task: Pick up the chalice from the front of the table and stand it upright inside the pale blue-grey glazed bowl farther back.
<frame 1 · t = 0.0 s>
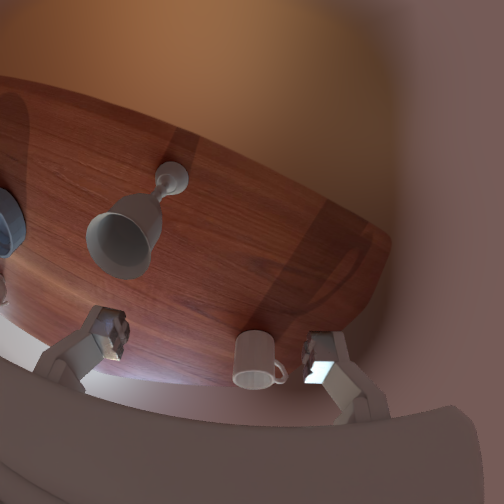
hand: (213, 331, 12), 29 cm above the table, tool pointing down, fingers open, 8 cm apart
chalice: (171, 177, 38), on the table
bowl: (6, 216, 41), on the table
teapot: (0, 277, 53), on the table
mug: (263, 343, 58), on the table
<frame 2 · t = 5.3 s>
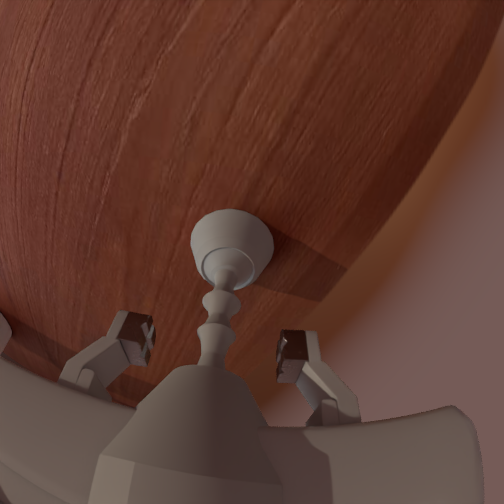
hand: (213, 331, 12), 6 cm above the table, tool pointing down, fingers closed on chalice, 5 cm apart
chalice: (232, 244, 17), on the table, touching arm, gripper
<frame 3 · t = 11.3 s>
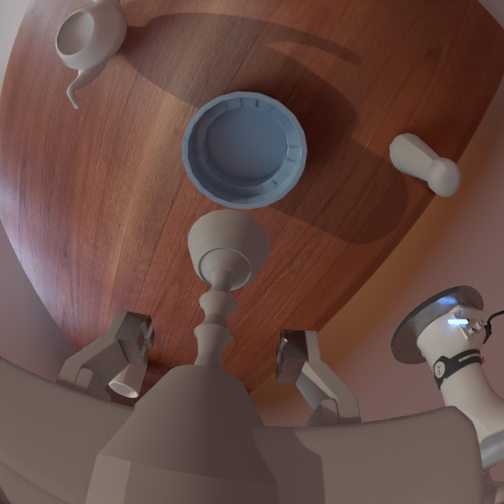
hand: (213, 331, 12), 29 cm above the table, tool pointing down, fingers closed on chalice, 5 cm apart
chalice: (229, 245, 17), point 23 cm above the table, touching arm, gripper
bowl: (246, 143, 35), on the table
teapot: (112, 38, 26), on the table
salt shaker: (400, 148, 34), on the table
mug: (132, 362, 67), on the table
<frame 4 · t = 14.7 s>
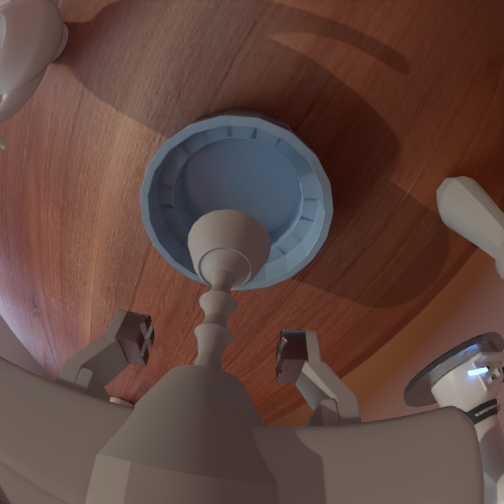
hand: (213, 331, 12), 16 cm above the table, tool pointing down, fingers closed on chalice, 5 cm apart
chalice: (229, 245, 17), point 9 cm above the table, touching arm, gripper
bowl: (239, 188, 25), on the table
teapot: (53, 41, 15), on the table
salt shaker: (449, 193, 24), on the table
mug: (122, 405, 57), on the table
when the fingers open (7 cm above the table, at t = 17.6 s): chalice stays where it is, resting on bowl.
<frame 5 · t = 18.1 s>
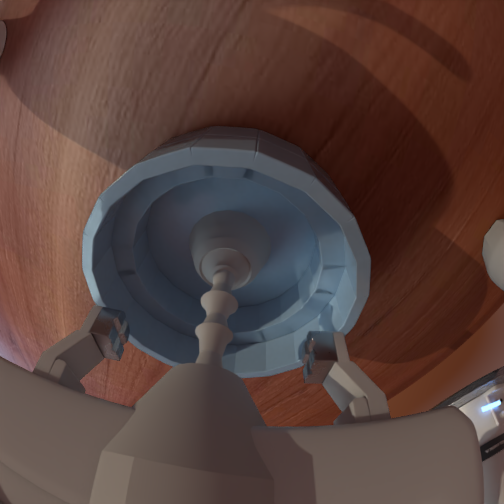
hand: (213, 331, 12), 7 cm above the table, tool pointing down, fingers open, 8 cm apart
chalice: (229, 245, 17), resting on bowl
bowl: (229, 240, 18), on the table
salt shaker: (496, 237, 16), on the table
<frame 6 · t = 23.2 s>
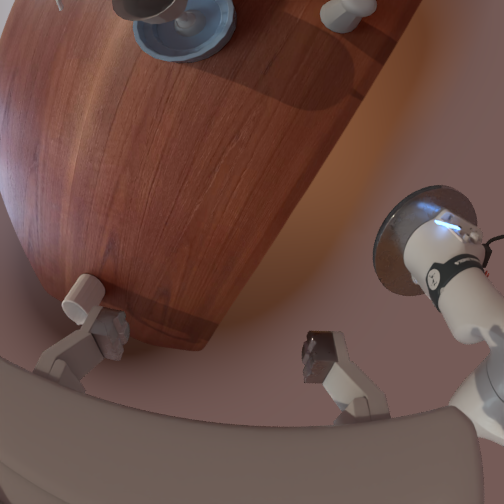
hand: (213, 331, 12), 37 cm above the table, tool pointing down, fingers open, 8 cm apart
chalice: (189, 23, 30), resting on bowl
bowl: (190, 23, 31), on the table
salt shaker: (335, 19, 29), on the table
mug: (91, 290, 63), on the table
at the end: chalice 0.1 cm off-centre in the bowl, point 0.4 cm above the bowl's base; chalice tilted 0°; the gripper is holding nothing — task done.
